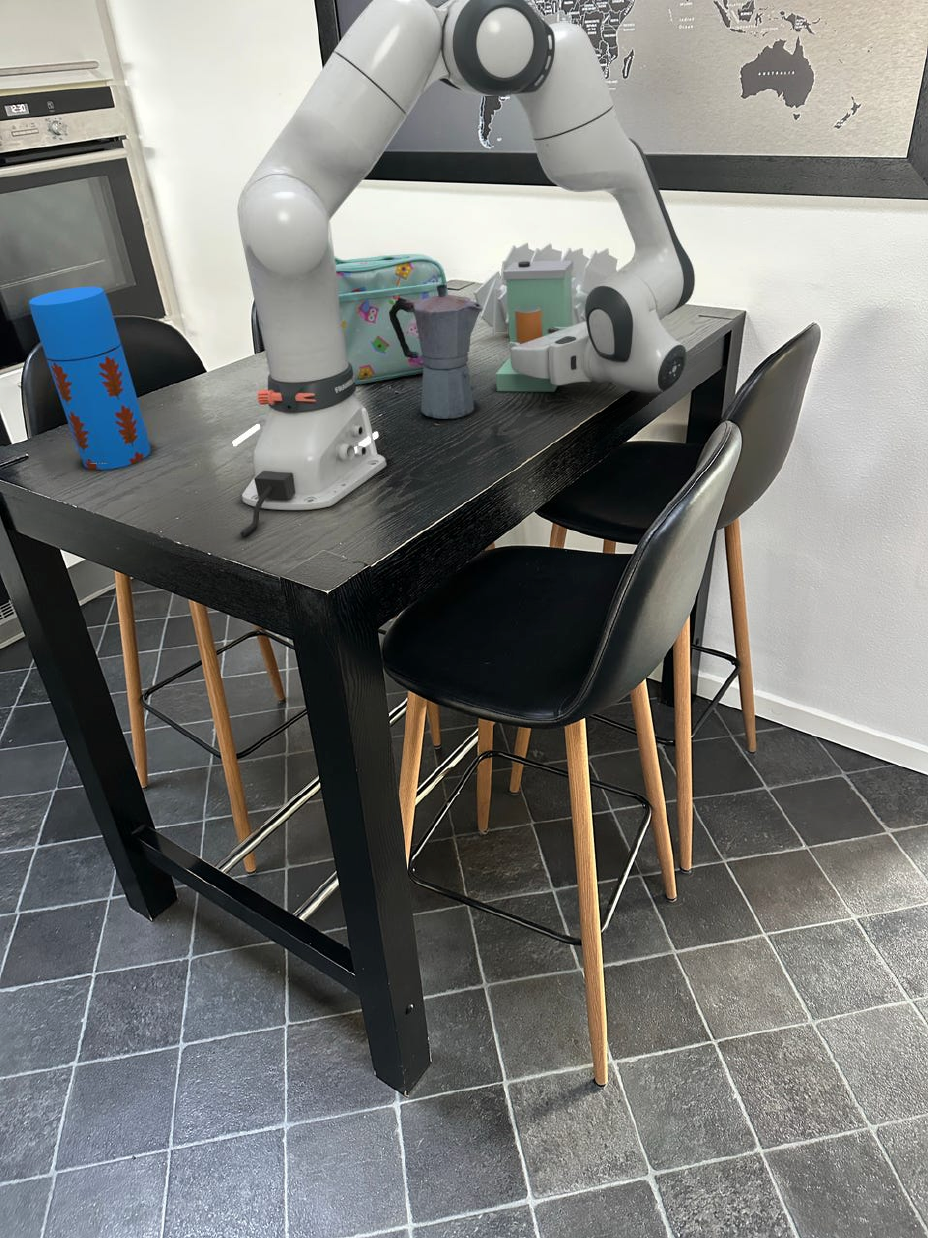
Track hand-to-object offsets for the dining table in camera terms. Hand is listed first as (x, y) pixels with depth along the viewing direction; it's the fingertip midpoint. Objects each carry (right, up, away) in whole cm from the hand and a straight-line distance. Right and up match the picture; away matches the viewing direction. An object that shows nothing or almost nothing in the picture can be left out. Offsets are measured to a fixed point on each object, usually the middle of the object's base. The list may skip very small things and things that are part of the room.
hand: (531, 339), depth 154 cm
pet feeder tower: (+3, -2, +11) cm, 12 cm away
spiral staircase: (+6, +7, +25) cm, 27 cm away
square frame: (0, -6, +4) cm, 8 cm away
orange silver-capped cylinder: (0, -6, +4) cm, 8 cm away
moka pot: (-14, -13, -4) cm, 20 cm away
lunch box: (-26, -2, +15) cm, 30 cm away
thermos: (-67, -22, -8) cm, 71 cm away
